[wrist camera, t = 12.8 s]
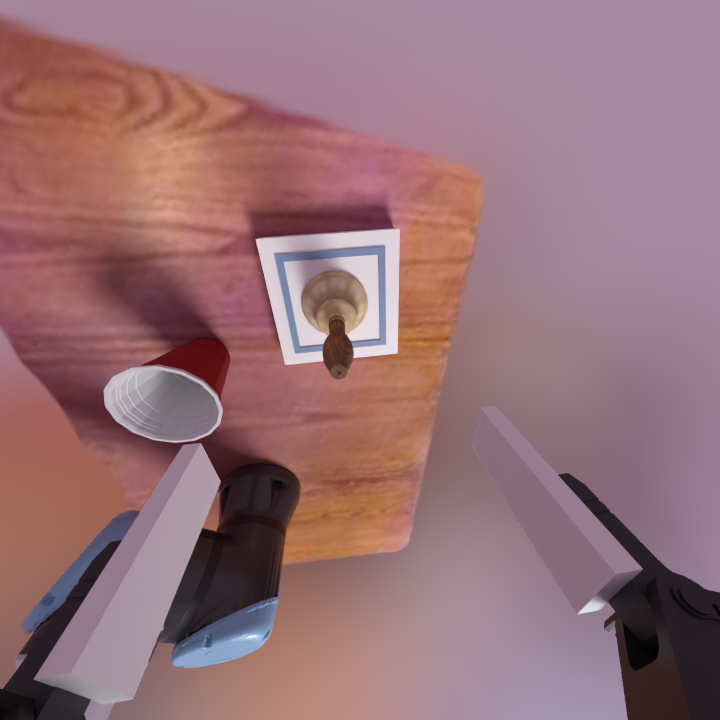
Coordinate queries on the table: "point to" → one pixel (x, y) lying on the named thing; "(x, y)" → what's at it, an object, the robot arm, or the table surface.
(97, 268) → the table surface
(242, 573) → the robot arm
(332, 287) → the hand bell
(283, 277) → the display board
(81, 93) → the table surface
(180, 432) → the plastic cup
